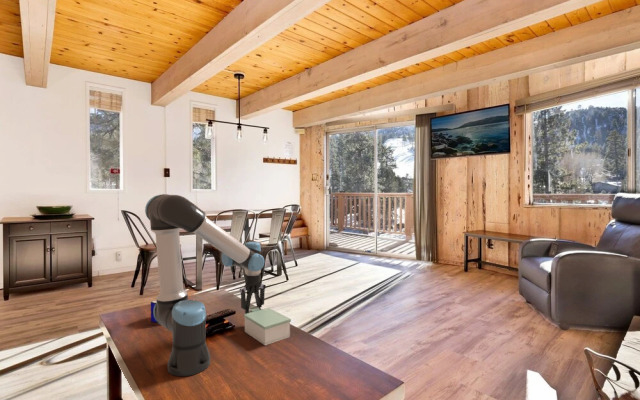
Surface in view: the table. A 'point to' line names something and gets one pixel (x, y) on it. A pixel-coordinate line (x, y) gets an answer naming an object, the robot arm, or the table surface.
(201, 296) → the table surface
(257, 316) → the lid
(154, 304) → the puzzle cube
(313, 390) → the table surface
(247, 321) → the tub
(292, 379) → the table surface
